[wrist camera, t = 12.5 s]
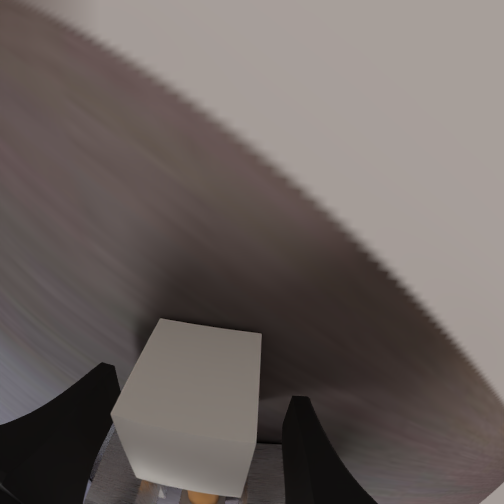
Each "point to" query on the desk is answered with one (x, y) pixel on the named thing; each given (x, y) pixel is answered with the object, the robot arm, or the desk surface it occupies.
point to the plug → (192, 410)
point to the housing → (146, 493)
